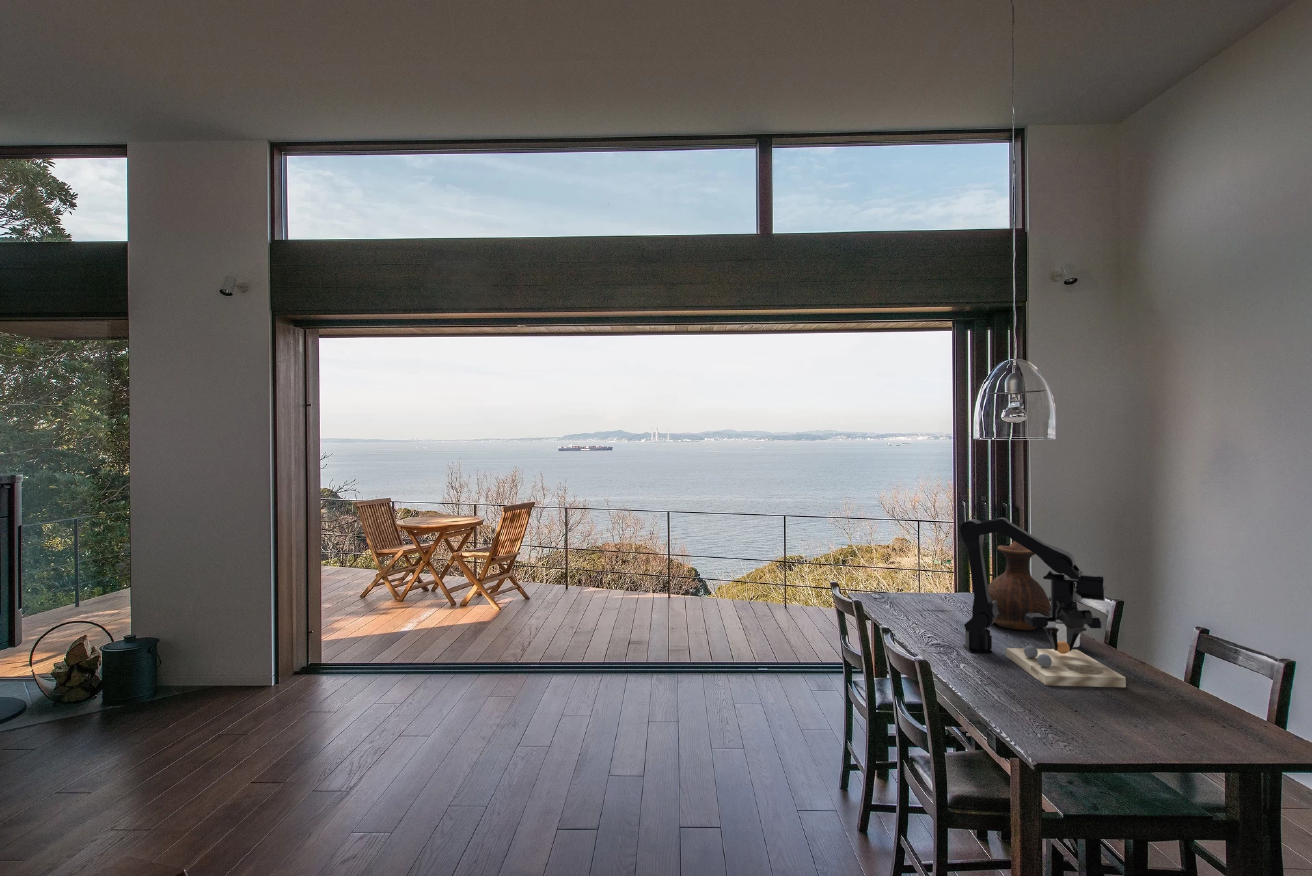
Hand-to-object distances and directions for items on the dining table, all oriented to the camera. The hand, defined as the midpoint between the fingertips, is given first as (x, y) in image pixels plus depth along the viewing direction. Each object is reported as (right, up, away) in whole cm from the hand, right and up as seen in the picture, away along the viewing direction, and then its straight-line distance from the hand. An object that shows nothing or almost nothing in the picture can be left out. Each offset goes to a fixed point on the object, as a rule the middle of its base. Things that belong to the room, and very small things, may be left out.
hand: (1062, 650), depth 199 cm
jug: (+8, -4, +42) cm, 42 cm away
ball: (0, +1, 0) cm, 1 cm away
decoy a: (-10, 0, -2) cm, 10 cm away
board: (-4, -4, -6) cm, 8 cm away
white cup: (+12, -4, +19) cm, 23 cm away
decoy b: (-11, 0, -10) cm, 15 cm away
